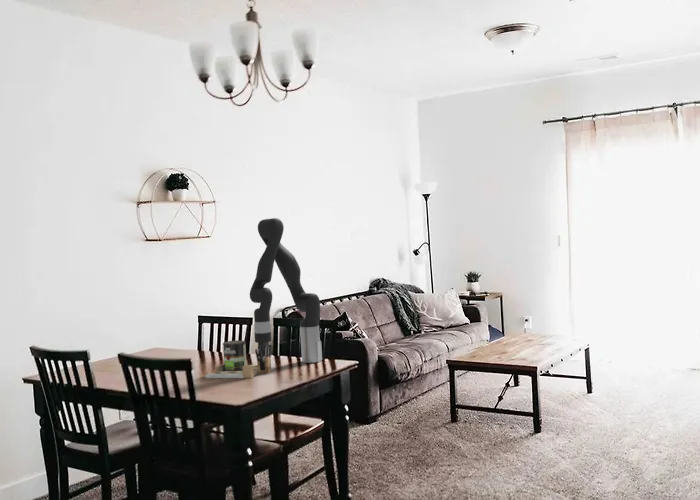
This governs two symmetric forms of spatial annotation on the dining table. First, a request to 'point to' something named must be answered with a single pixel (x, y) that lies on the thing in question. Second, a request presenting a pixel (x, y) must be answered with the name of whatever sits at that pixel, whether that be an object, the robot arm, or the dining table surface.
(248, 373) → the empty strip
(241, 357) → the coffee can
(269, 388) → the dining table surface
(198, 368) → the dining table surface
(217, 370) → the frame
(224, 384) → the dining table surface
